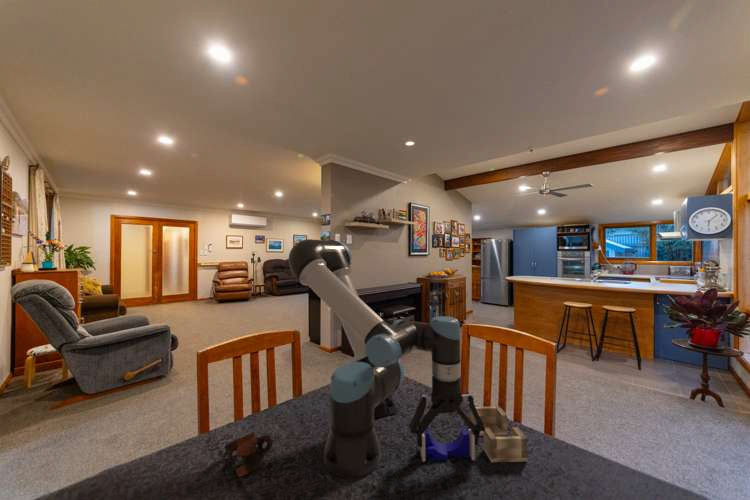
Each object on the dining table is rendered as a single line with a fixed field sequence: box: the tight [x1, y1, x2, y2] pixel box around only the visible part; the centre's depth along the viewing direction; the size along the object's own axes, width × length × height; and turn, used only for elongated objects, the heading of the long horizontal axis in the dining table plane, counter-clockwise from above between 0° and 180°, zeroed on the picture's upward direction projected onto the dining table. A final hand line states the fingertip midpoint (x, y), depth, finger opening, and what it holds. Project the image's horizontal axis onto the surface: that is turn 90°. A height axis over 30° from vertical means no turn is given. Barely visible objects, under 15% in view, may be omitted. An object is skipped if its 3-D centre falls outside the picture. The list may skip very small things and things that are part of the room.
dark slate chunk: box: [374, 395, 398, 418], centre depth 109 cm, size 15×22×5 cm
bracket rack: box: [469, 406, 528, 463], centre depth 85 cm, size 10×16×6 cm, turn 2°
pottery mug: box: [222, 431, 274, 477], centre depth 78 cm, size 12×10×8 cm
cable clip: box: [424, 426, 470, 461], centre depth 80 cm, size 12×4×6 cm, turn 87°
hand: (447, 457), depth 79 cm, fingers open, 12 cm apart
